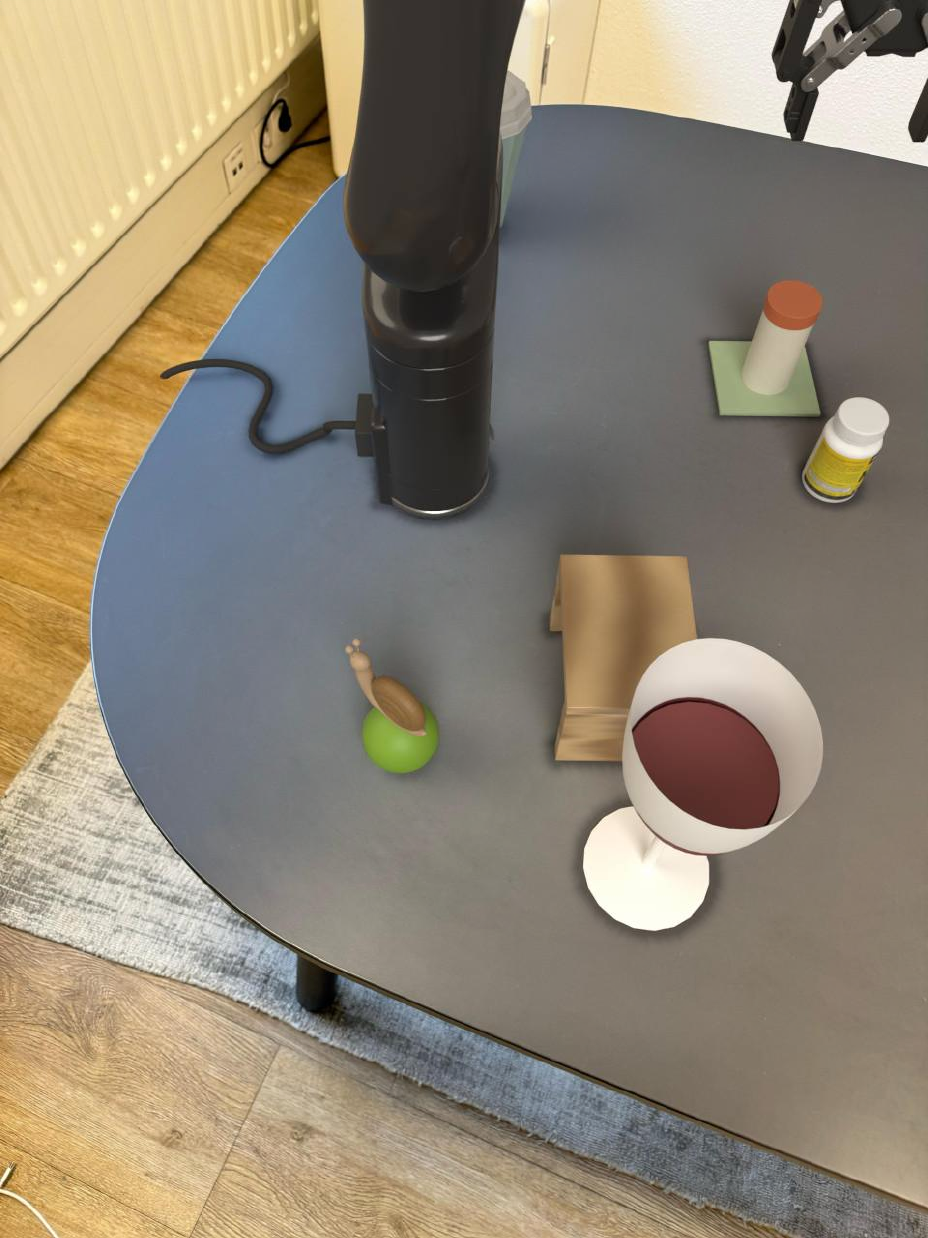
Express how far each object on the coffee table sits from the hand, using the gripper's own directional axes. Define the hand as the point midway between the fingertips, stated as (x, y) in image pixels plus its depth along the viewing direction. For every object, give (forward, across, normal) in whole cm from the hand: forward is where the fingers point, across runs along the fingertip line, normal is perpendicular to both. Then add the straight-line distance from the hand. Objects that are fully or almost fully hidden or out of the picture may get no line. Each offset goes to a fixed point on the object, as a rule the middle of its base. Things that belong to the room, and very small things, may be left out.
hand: (854, 135), depth 69 cm
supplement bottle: (+24, -4, +12) cm, 27 cm away
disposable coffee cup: (+24, +27, -21) cm, 42 cm away
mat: (+24, 0, 0) cm, 24 cm away
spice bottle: (+24, 0, 0) cm, 24 cm away
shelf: (+24, +16, +32) cm, 43 cm away
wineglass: (+24, +14, +46) cm, 54 cm away
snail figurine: (+24, +32, +37) cm, 55 cm away
